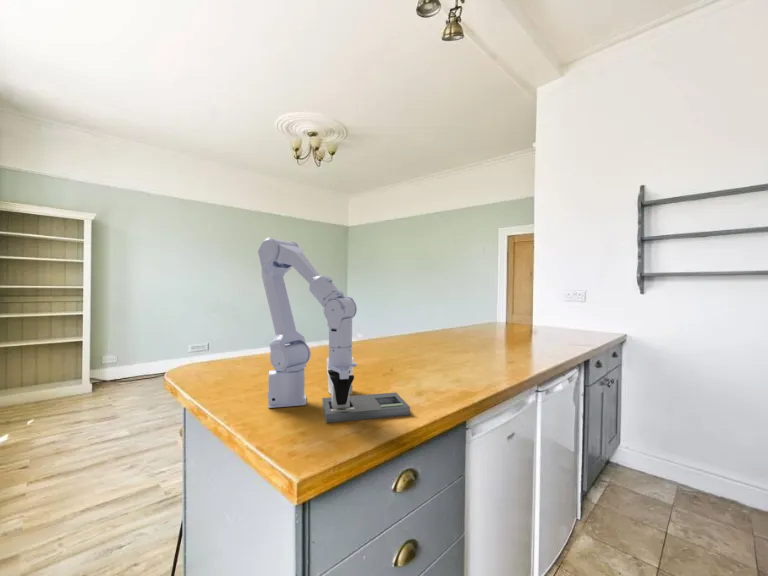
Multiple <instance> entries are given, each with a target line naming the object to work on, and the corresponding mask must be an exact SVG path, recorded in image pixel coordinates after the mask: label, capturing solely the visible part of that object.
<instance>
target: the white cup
mask: <svg viewBox="0 0 768 576" xmlns="http://www.w3.org/2000/svg"><path fill="white" fill-rule="evenodd" d="M354 359H355V358H354V357H353V356H352V363H353V362H354ZM328 364H329V356H328V357H327V358H326V373H327V374H326V375H327V385H328V393H329V394H330V395H332V380H331V379H330V375H329V373H328V370H331V369H329V368H328ZM353 373H354V367H352V369H351V370H350V373H349V375H353V376H354V374H353ZM351 385H352V386H353V383H352V384H351Z"/></svg>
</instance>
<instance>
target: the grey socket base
mask: <svg viewBox="0 0 768 576" xmlns="http://www.w3.org/2000/svg"><path fill="white" fill-rule="evenodd" d="M331 397H332V396H330V397H322V404H321V406H322V410H323V414H324V419H325V423H326V424H328V423H329V424H330V423H339V422H340V423H342V422H350V421H363V420H372V419H381V418H382V419H384V418H394V417H404V416H411V407H410V405H409V404H408V403H407V402H406V401H405V400H404V399H403V398H402V397H401V396H400V395H399V394H398V393H397V392H387V393H386V392H383V393H370V394H360V395H359V394H357V395H350V407H348V408H336V409H331Z"/></svg>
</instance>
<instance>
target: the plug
mask: <svg viewBox="0 0 768 576" xmlns="http://www.w3.org/2000/svg"><path fill="white" fill-rule="evenodd" d="M351 394H353V384H352V385H351V386H350V389H349V393H348V398H347V403H346V404H345V405H337V401H336V396H335V389H334V385H333V383H332V394H331V396H330V397H331V409H336V408H348V407H350V396H351Z"/></svg>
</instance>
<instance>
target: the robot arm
mask: <svg viewBox="0 0 768 576" xmlns="http://www.w3.org/2000/svg"><path fill="white" fill-rule="evenodd" d="M257 253H258V258H259V263H260V266H261V278H262V283H263V288H264V291H265V295H266V298H267V304H268V308H269V311H270V316H271V320H272V324H273V329H274V333H275V336H274V338H273V340H271V342H270V343H269V349H270V354H269V356H270V357H269V359H270V360H269V362H270V364H271V365H272V367H273V370H269V372H268V392H267V399H268V405H267V406H268V408H269V409H272V408H284V407H286V408H287V407H299V406H306V405H307V395H306V394H305V391H306V390H305V385H306V384H305V382H306V381H305V379H306V377H305V372H306V371H305V368H307V363H308V362H310V359H311V356H312V355H311V348H310V347H309V345H308V343H307V342H306V339H305V337H304V336H303V335H302V334H301V333H300V332H298V331H297V327H296V324H295V323H296V322H295V320H294V316H293V311H292V308H291V302H290V300H289V296H288V295H289V294H288V291H287V287H286V284H285V278H284V276H285V275H286V274H287V273H288V272H289V271H290V270H291V269H292V268H294V269H295V270H296V272H297V273H298V274H299V275H300V276H302V278H303V279H304V280H305V281H306V282H307V283H308V284H309V287H308V288H309V292H310V293H311V294H312V296H313V297H314V298H315V299H316V300H317V301H318V303H320V305H321V306H322V307H323V314H324V318H325V319H326V321H327V327H328V357H329V364H328V368H329V369H331V370H328V373H329V375H330V379H331V380H332V383H333V385H334V389H335V396H336V401H337V405H345V404H346V403H347V398H348V393H349V389H350V386H351V384H352V385H353V382H354V379H355V375H354V374H353V375H349V373H350V370H351V369H352V367H353V368H354V367H355V368H356V367H358V364H357V362H354V361H353V363H352V357H353V318H355V316H356V314H357V310H358V308H357V304H356V302H355V300H354V299H353V297H351V296H346V295H345V294H344V292H343V291H342V290H340V289H339V288H338V287H337V285H335V284H334V283H333V281H334V279H333V278H332V277H330V276H327V275H320V274H319V272H318V270H317V269H316V268H315V267H314V265H312V263H311V261H310V260H309V259H308V258H307V256H306V255H305V253H304V249H303V248H302V247H301V246H300V245H299V244H298V243H297V242H295V241H289V240H283V239H282V240H281V239H278V238H276V239H275V238H272V237H267V238H265V239H264V240H263V241H262V242H261V244H260V246H259V248H258V249H257Z"/></svg>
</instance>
